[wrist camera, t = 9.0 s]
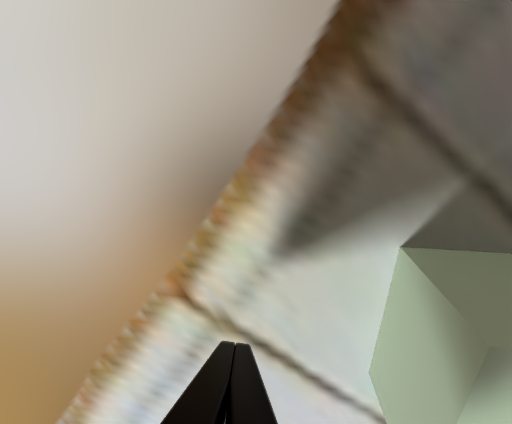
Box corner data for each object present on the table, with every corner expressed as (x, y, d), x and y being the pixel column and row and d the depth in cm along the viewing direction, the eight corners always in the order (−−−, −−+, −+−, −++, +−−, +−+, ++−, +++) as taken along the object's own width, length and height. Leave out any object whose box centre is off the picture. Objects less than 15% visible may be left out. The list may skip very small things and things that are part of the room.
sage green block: (510, 380, 12) (641, 529, 8) (367, 369, 12) (418, 510, 8) (573, 255, 10) (799, 367, 6) (397, 245, 10) (490, 346, 6)
